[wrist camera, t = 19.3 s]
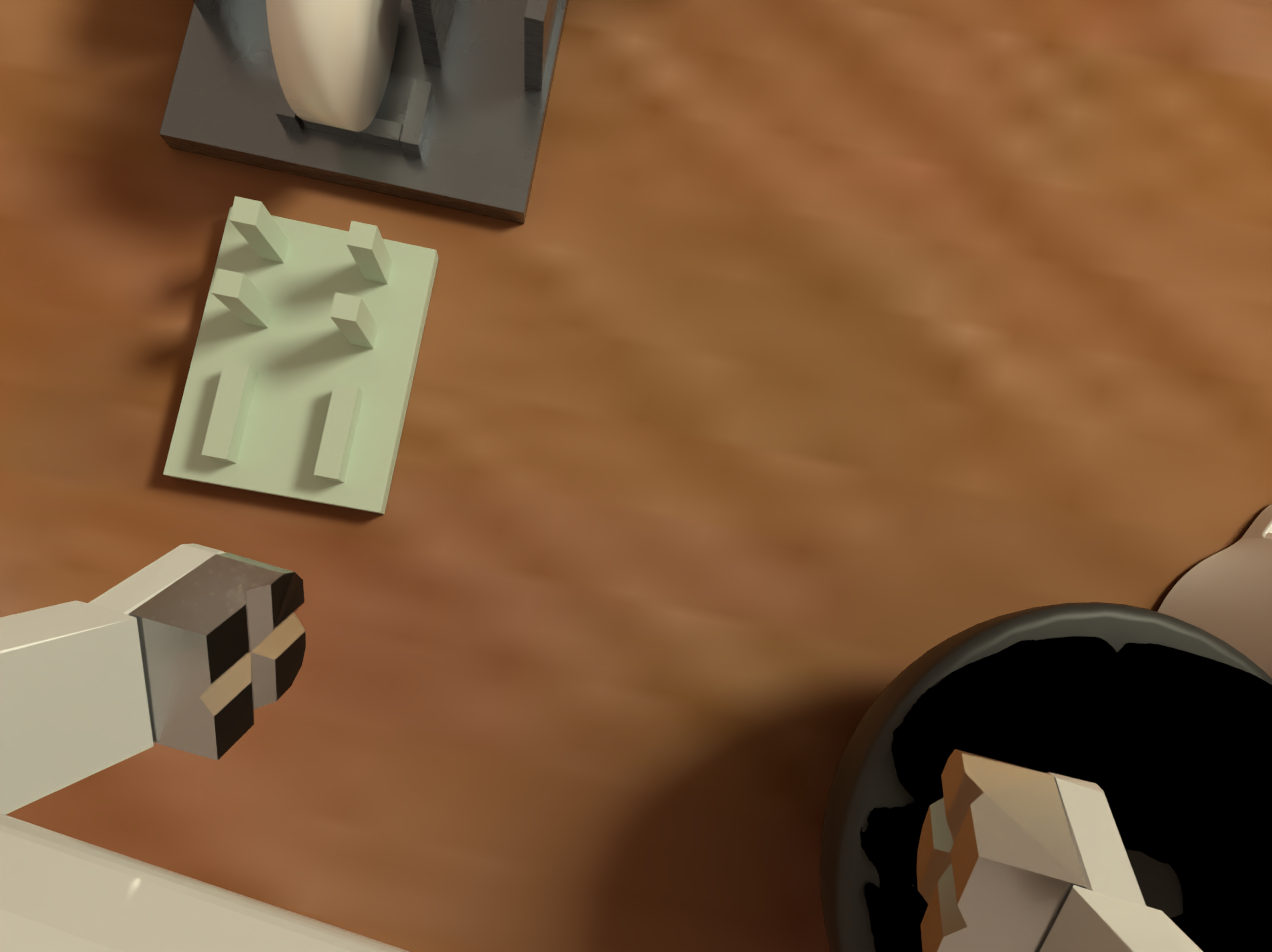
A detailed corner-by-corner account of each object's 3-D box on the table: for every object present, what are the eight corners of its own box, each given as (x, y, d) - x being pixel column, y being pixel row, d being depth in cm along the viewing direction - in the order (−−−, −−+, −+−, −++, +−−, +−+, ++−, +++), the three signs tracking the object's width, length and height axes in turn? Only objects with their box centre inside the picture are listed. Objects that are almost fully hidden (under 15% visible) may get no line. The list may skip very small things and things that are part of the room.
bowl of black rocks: (685, 945, 37) (847, 1317, 18) (854, 527, 40) (1136, 484, 22) (1084, 1116, 38) (1611, 1624, 20) (1216, 699, 41) (1776, 797, 23)
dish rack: (573, -25, 42) (581, -128, 35) (524, 223, 40) (523, 159, 34) (238, -108, 40) (185, -232, 34) (170, 147, 38) (103, 65, 32)
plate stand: (438, 258, 39) (426, 212, 34) (384, 514, 37) (363, 504, 32) (238, 216, 38) (194, 162, 33) (173, 477, 36) (117, 461, 31)
